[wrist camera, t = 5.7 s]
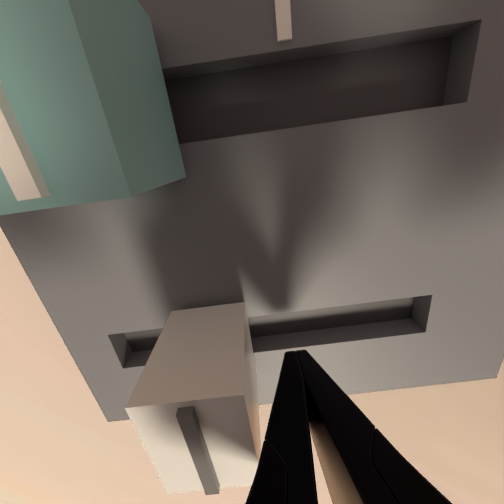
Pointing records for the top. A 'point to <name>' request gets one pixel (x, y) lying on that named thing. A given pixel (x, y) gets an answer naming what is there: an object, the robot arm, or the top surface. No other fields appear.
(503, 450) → the top surface
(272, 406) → the robot arm
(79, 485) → the top surface
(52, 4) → the fader
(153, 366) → the fader
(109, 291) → the console
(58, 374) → the top surface
